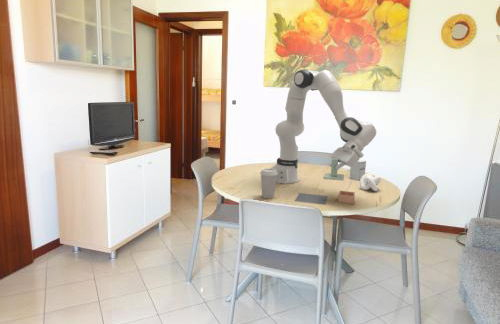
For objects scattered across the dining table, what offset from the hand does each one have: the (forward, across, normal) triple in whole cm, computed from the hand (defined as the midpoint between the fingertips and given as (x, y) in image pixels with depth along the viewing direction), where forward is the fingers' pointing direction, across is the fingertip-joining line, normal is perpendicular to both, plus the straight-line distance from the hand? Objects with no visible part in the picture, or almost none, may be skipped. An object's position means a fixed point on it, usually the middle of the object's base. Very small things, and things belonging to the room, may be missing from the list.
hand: (333, 167), depth 186 cm
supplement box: (-15, -44, +41) cm, 62 cm away
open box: (+8, +2, +18) cm, 20 cm away
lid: (+3, 0, +4) cm, 5 cm away
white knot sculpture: (-10, -18, +36) cm, 42 cm away
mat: (+19, -4, +6) cm, 21 cm away
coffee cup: (+35, -11, -10) cm, 38 cm away
